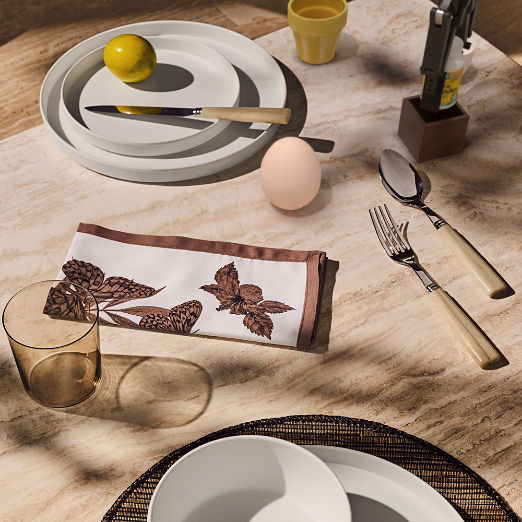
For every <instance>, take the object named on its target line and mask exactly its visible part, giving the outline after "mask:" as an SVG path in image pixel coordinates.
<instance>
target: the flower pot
mask: <svg viewBox="0 0 522 522" xmlns="http://www.w3.org/2000/svg"><path fill="white" fill-rule="evenodd" d="M348 14H349V4H348V2H347V1H346V0H289V1H288V3H287V23H288V26H289V28H290V30H291V31H292V34H293V38H294V42H295V47H296V51H297V52H296V53H297V56H298V58H299V59H300V60H301V61H302V62H304V63H306V64H310V65H323V64H326V63H329V62H330V61H332V60H333V59H334V57H335V55H336V51H337V48H338V44H339V40H340V37H341V33H342V31H343V29H345V27H346V26H347V22H348Z"/></svg>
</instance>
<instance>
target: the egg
mask: <svg viewBox="0 0 522 522" xmlns="http://www.w3.org/2000/svg"><path fill="white" fill-rule="evenodd" d="M259 168H260V169H259V183H260V186H261V187H260V188H261V190H262V192H263V194H264V196H265V197H266V199H267V200H268V201H269V202H270V203H271V204H273V205H274V206H275V207H277V208H280V209H282V210H287V211H293V210H295V211H296V210H299V209H301V208H304V207H305V206H307V205H308V204H310V203H311V202H312V201H313V200H314V198H316V196H317V194H318V192H319V191H320V190H319V189H320V187H321V183H322V168H321V163H320V160H319V157H318V155H317V154H316V152H315V150H314V149H313V147H312V146H311V145H310V144H309V143H308V142H306V141H305V140H304V139H301V138H299V137H296V136H285V137H282V138H280V139H278V140H276V141H275V142H274V143H273V144H271V146H270V147H269V148H268V150H267V151H266V153H265V154H264V156H263V158H262V160H261V163H260V167H259Z"/></svg>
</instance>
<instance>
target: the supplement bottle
mask: <svg viewBox="0 0 522 522" xmlns="http://www.w3.org/2000/svg"><path fill="white" fill-rule="evenodd" d="M462 49H463V41H462V39H460V38H459V37H457V36H455V37H454V40H453V44H452V47H451V50H450V54H449V57H448V61H447V64H446V68H445V72H447V74H446V79H445V84H444V89H443V93H442V98H441V103H440V108H439V109H446V108H449V107H451V106H452V105H454V104H455V102H456V100H457V101H458V96H459V91H460V86H461V82H462V78H463V75H462V73H463V69H464V64H465V59H464V56H463V54H462ZM424 81H425V75H422V83H421V89H420V98H421V97H422V92H423V86H424Z"/></svg>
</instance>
